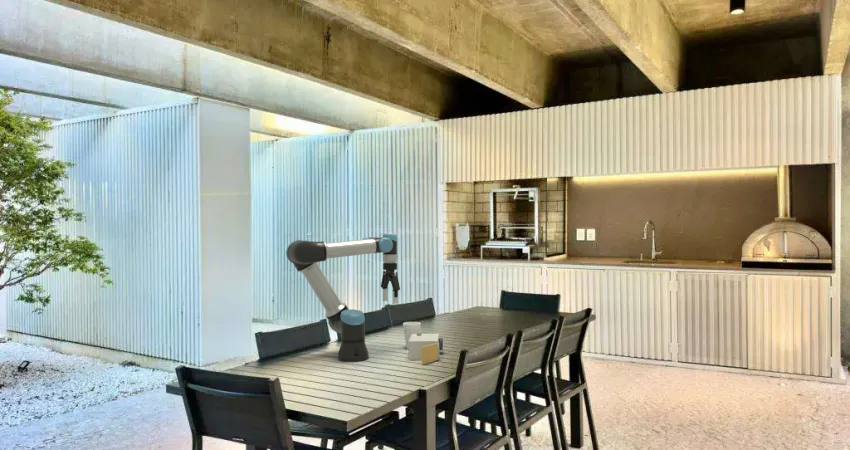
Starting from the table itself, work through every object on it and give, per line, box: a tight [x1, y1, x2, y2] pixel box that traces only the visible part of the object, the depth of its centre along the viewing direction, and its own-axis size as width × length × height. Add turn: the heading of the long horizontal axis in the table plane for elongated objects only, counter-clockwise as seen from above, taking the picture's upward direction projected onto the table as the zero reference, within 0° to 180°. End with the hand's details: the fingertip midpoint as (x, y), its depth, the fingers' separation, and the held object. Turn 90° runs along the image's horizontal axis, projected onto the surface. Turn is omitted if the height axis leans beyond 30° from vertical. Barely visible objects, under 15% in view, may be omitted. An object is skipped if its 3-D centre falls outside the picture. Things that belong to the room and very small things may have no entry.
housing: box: [408, 332, 444, 361], centre depth 299 cm, size 20×16×10 cm
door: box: [421, 343, 440, 365], centre depth 284 cm, size 1×13×8 cm, turn 142°
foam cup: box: [402, 321, 422, 350], centre depth 320 cm, size 10×9×13 cm
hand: (390, 302), depth 320 cm, fingers open, 13 cm apart
